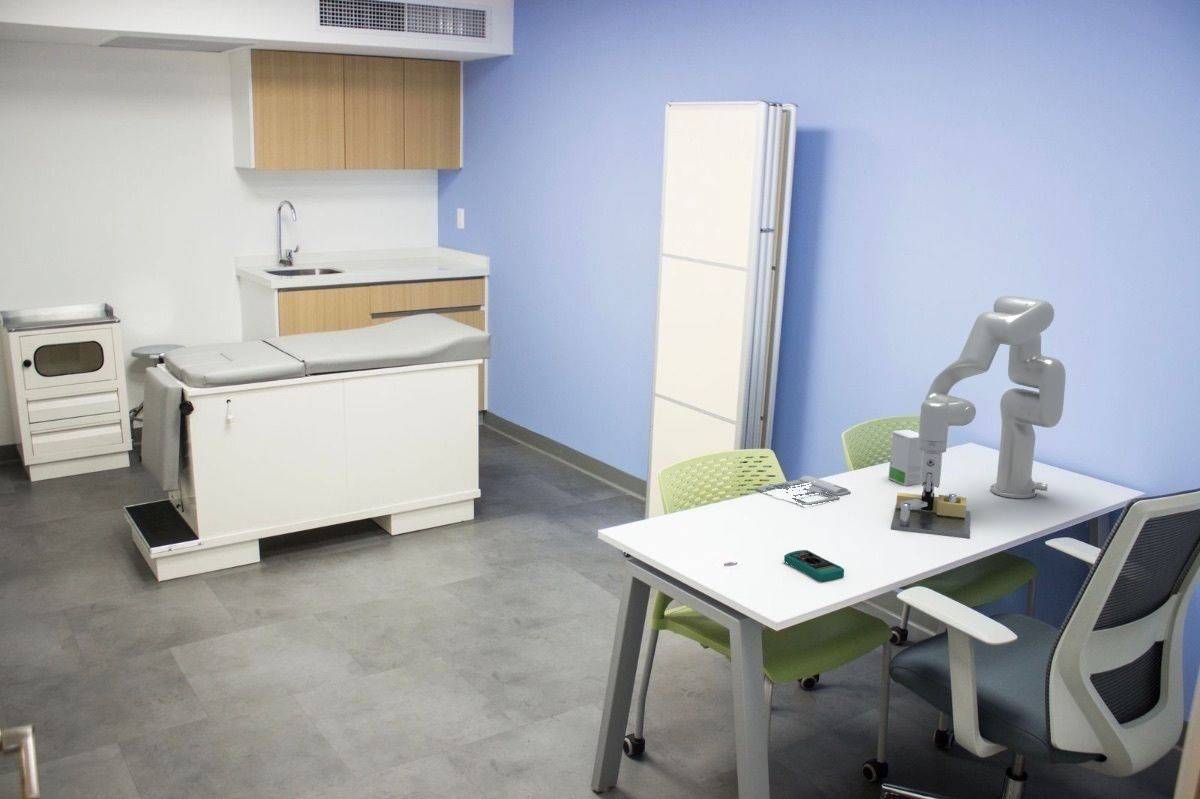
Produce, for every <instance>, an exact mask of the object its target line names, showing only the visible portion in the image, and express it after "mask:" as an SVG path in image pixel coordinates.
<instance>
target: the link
mask: <svg viewBox="0 0 1200 799" xmlns="http://www.w3.org/2000/svg"><path fill="white" fill-rule="evenodd" d="M922 496H923V495H922V494H914V493H907V492H897V495H896V503H895V507H897V508H901V506H900V502H903V501H908V500H912V499H919V500H922ZM933 497H934V502H933V510H932V512H937V515H945V516H954V517H962V518H965V513H966V511H967V497H964V496H963V497H962V496H956V503H953V502H948V500H949V495H946V494H938V496H935V495H934V496H933ZM915 510H921V508H917V509H915ZM923 511H927V510H923Z"/></svg>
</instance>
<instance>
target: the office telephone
mask: <svg viewBox="0 0 1200 799" xmlns="http://www.w3.org/2000/svg"><path fill="white" fill-rule="evenodd" d="M814 481H815V482H814ZM809 482H811V483H810V484H812V485H811V486H809V487H810V488H809V489H806V488H804V489H803V490H807V493H805V495H809V494H815V493H819V494H821V495H823V496H825V497H828V498H825V497H824V499H819V500H815V501H814V500H813V501H809V502H806V501H805V500H801V499H796V498H792V499H794V500H795V501H796V500H797V501H796V502H798V503H801V504H802V505H812V504H818V503H823V502H829V501H833V502H835V501H834V500H837V501H839V499H841V498H840V497H843V496H848V495H851V494H852V492H851V490H849V489H848V488H846V487H842V486H840V485H837V484H834V483H832V482H828V481H825V480H822V479H819V478H816V477H813V476H811V475H804V476H801V477H800V478H799V479H794V480H789V481H783V482H779V483H774V484H769V485H764V486H763V485H762V486H758V487H755V488H754V490H755V491H756V492H758V493H761V494H763V493H762V492H767V491H771V490H775V489H782V488H783V489H786V490H788V489H789V488H791V487H790V486H794V487H792V488H796V487H795V485H800V484H804V483H809ZM807 485H809V484H807ZM802 486H806V485H801V487H802ZM788 487H789V488H788ZM797 487H800V486H797ZM792 491H793V490H792ZM799 491H800V490H799ZM808 491H809V492H808ZM826 492H827V493H826ZM786 493H788V492H786ZM798 495H800V496H802V495H804V494H798ZM798 495H793V496H795V497H796V496H798ZM823 496H822V497H823ZM838 496H840V497H838ZM829 503H830V502H829Z"/></svg>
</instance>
